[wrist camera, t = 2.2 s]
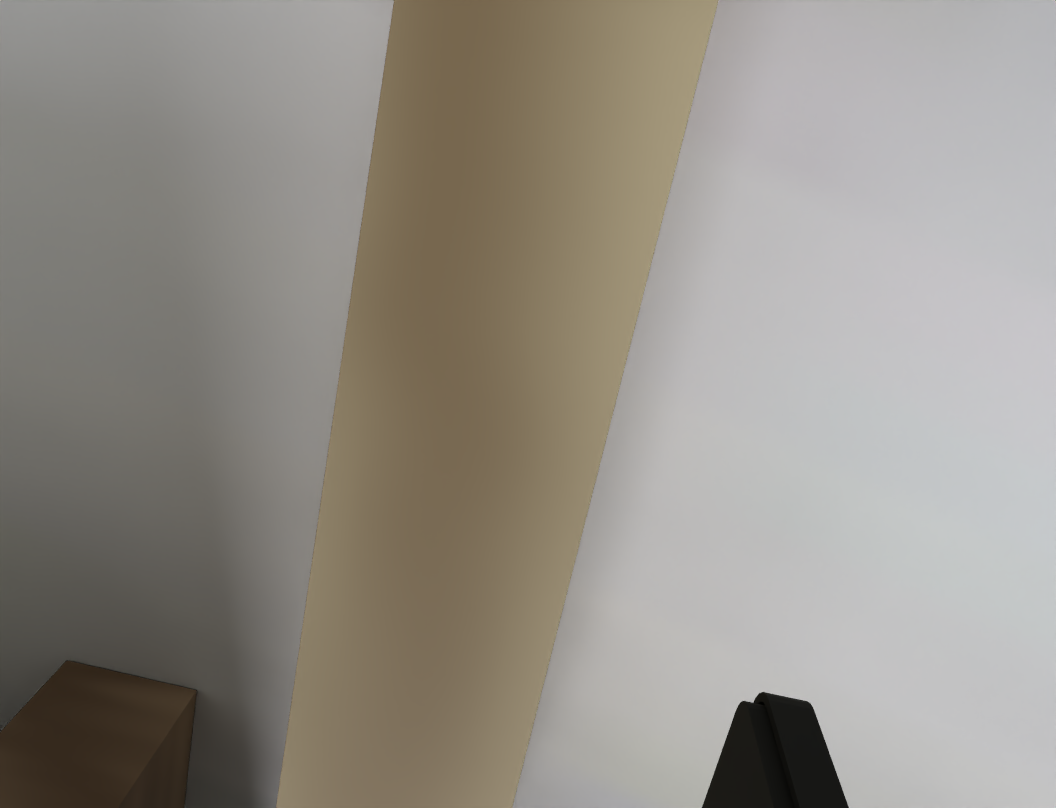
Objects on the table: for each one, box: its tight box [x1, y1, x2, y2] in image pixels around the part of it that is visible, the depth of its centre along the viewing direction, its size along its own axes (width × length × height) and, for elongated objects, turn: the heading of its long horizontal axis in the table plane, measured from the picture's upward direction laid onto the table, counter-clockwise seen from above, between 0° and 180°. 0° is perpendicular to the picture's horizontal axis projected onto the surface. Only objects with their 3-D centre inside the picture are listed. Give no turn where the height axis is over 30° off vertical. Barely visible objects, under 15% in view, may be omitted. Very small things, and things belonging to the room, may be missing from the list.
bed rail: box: [276, 0, 718, 808], centre depth 16 cm, size 4×22×6 cm, turn 168°
